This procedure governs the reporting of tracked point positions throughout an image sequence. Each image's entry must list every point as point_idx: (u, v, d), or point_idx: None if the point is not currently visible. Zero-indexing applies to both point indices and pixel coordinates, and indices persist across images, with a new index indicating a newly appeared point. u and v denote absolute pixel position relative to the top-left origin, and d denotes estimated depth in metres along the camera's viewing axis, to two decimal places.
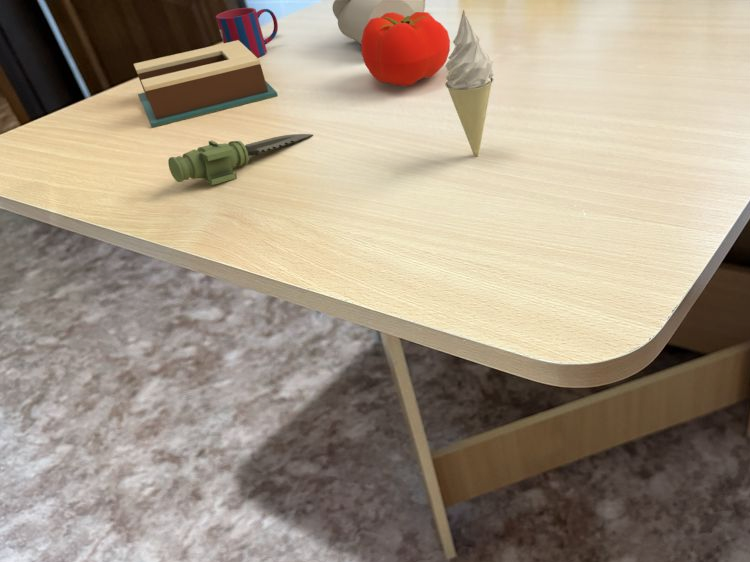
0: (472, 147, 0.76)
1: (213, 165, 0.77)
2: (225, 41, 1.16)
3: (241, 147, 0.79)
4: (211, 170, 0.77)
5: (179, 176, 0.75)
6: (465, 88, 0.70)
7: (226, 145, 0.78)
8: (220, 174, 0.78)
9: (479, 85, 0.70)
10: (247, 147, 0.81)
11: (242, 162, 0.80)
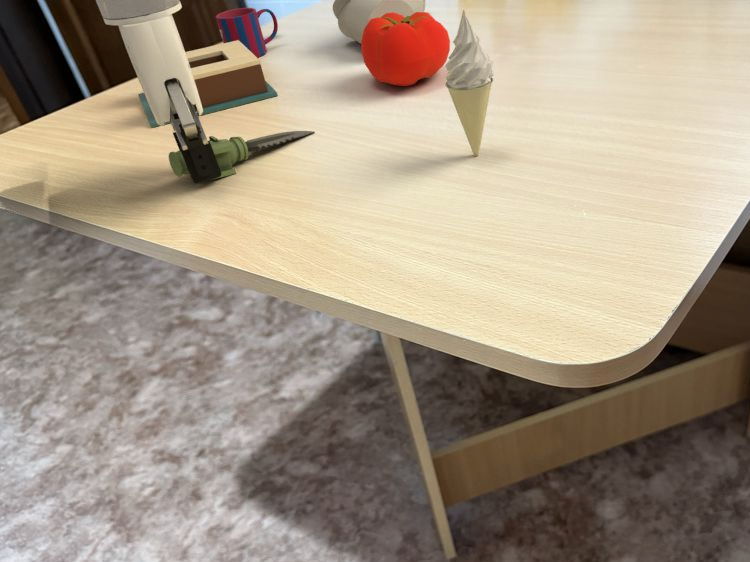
0: (472, 147, 0.76)
1: None
2: (225, 41, 1.16)
3: (241, 143, 0.80)
4: None
5: (178, 170, 0.77)
6: (465, 88, 0.70)
7: (226, 141, 0.80)
8: None
9: (479, 85, 0.70)
10: (248, 143, 0.82)
11: (242, 158, 0.81)
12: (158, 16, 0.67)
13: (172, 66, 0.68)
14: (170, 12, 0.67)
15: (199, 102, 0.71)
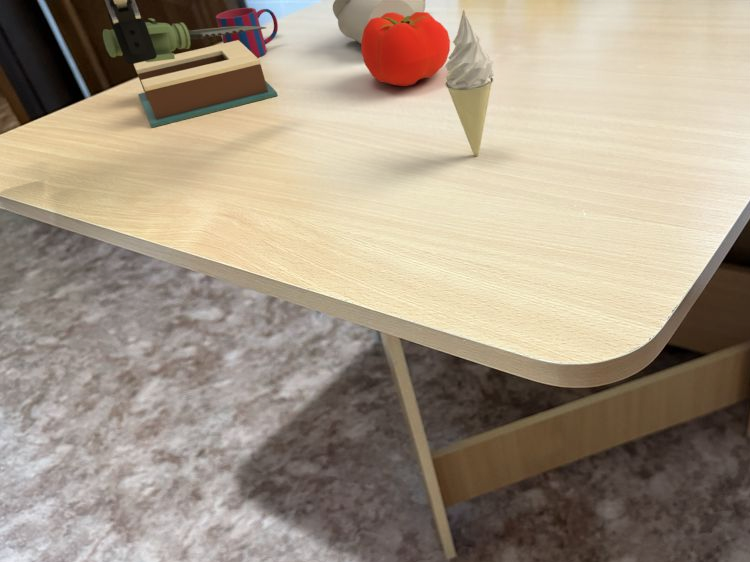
0: (472, 147, 0.76)
1: None
2: (225, 41, 1.16)
3: (182, 28, 0.77)
4: None
5: (111, 49, 0.73)
6: (465, 88, 0.70)
7: (166, 24, 0.76)
8: (157, 53, 0.75)
9: (479, 85, 0.70)
10: (191, 31, 0.79)
11: (183, 44, 0.77)
12: None
13: None
14: None
15: None
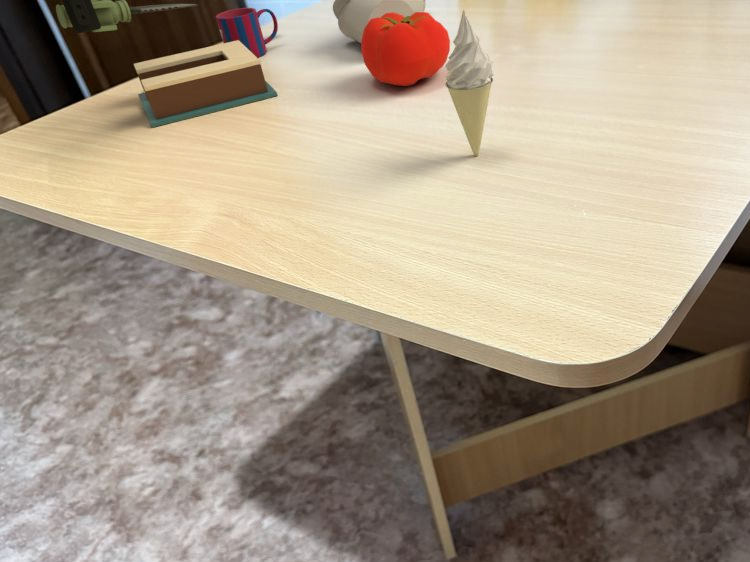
0: (472, 147, 0.76)
1: None
2: (225, 41, 1.16)
3: (123, 4, 0.92)
4: None
5: (63, 21, 0.88)
6: (465, 88, 0.70)
7: (109, 1, 0.91)
8: (102, 24, 0.90)
9: (479, 85, 0.70)
10: (132, 7, 0.94)
11: (125, 18, 0.93)
12: None
13: None
14: None
15: None
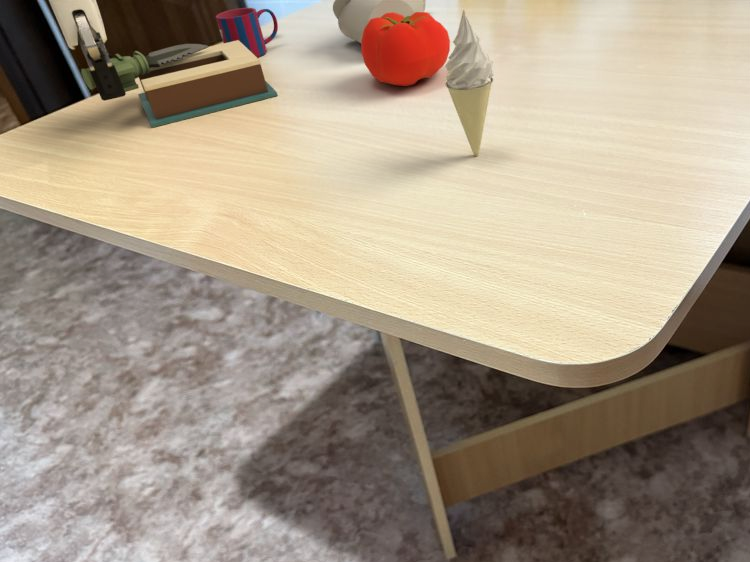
0: (472, 147, 0.76)
1: None
2: (225, 41, 1.16)
3: (143, 61, 0.98)
4: None
5: (90, 86, 0.95)
6: (465, 88, 0.70)
7: (130, 59, 0.97)
8: (125, 84, 0.97)
9: (479, 85, 0.70)
10: (149, 58, 0.99)
11: (144, 73, 0.99)
12: None
13: None
14: None
15: (102, 31, 0.89)
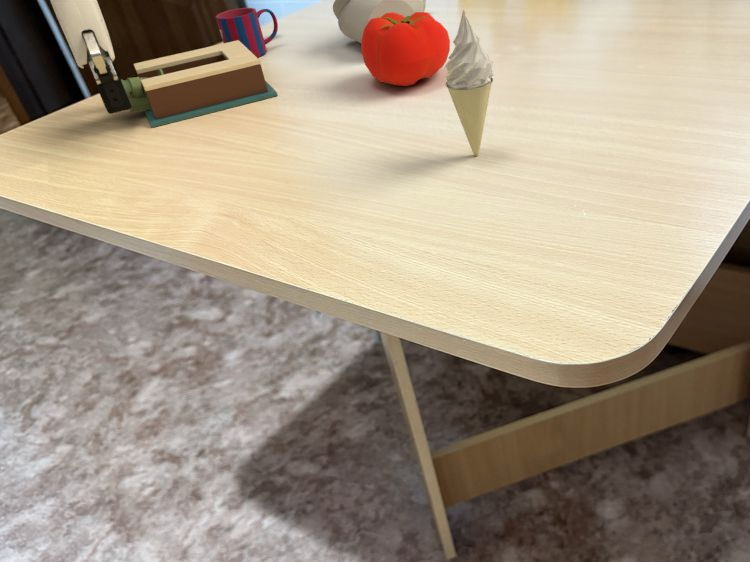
0: (472, 147, 0.76)
1: None
2: (225, 41, 1.16)
3: None
4: None
5: None
6: (465, 88, 0.70)
7: None
8: None
9: (479, 85, 0.70)
10: None
11: None
12: None
13: (87, 20, 0.88)
14: None
15: (111, 49, 0.91)
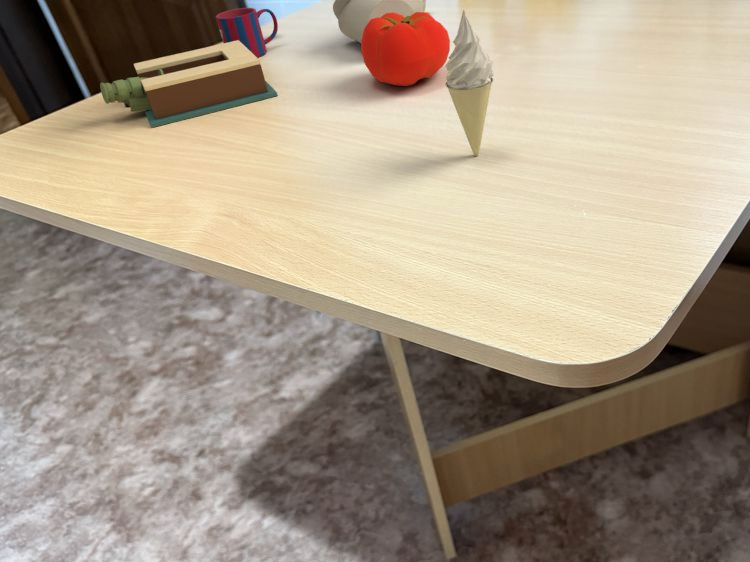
0: (472, 147, 0.76)
1: None
2: (225, 41, 1.16)
3: None
4: None
5: (104, 99, 0.97)
6: (465, 88, 0.70)
7: None
8: None
9: (479, 85, 0.70)
10: None
11: None
12: None
13: None
14: None
15: None
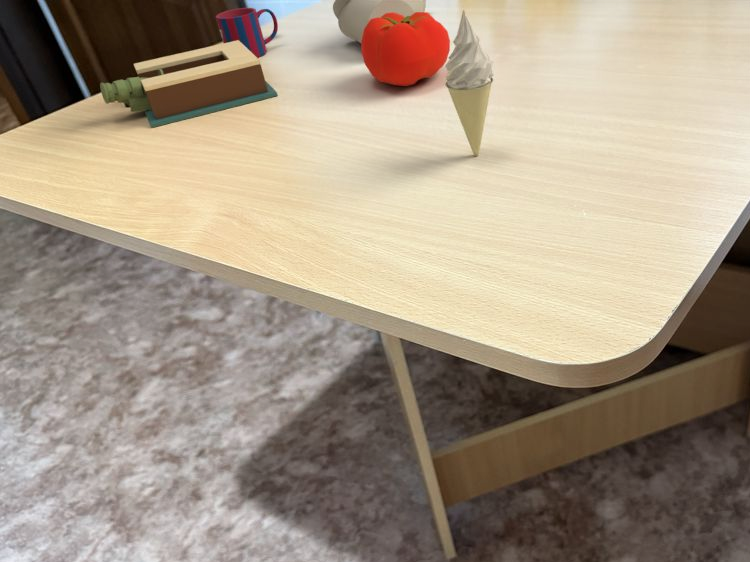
0: (472, 147, 0.76)
1: None
2: (225, 41, 1.16)
3: None
4: None
5: (104, 99, 0.97)
6: (465, 88, 0.70)
7: None
8: None
9: (479, 85, 0.70)
10: None
11: None
12: None
13: None
14: None
15: None
